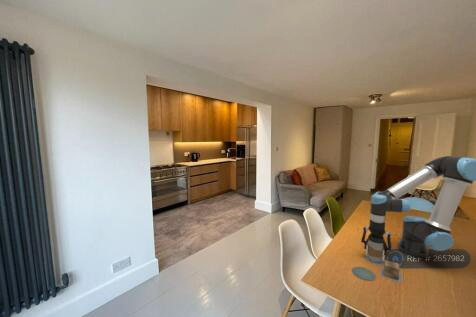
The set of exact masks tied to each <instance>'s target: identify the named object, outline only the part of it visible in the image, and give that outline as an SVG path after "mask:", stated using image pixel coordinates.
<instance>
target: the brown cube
mask: <svg viewBox="0 0 476 317" xmlns="http://www.w3.org/2000/svg"><path fill="white" fill-rule="evenodd" d="M384 260H385V261H384V264H383V268H384V276H386V277H389V278H393V279H396V280H399V274H400V265H399V263H398V262H395V261H394V262H393V261H390V260H388V259H384Z"/></svg>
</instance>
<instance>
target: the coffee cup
mask: <svg viewBox="0 0 476 317" xmlns="http://www.w3.org/2000/svg"><path fill="white" fill-rule="evenodd" d="M370 234H371V233H369V235H368V237H367V238H368V254H369V259H370V260H371V261H372V262H375V263H380V262H381V260H382V255H383V249H384V247H383V243H384V241H385V238H384V236H383V239H380V238H379V237H377V236H373V235H372V237H371V236H370ZM383 240H384V241H383ZM385 242H386V241H385Z"/></svg>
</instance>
